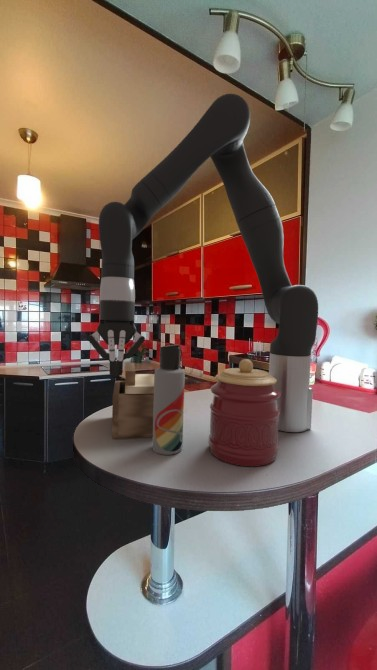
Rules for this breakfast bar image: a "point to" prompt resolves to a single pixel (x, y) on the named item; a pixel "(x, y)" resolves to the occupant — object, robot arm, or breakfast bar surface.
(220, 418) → the canister
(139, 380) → the lid
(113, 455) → the breakfast bar surface
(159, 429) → the lotion bottle
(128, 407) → the wooden box
